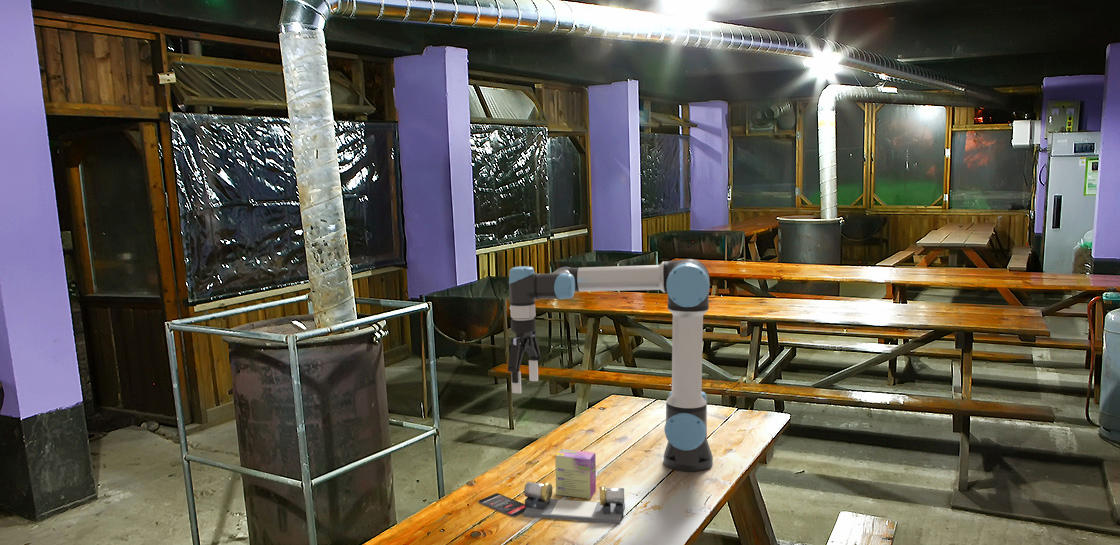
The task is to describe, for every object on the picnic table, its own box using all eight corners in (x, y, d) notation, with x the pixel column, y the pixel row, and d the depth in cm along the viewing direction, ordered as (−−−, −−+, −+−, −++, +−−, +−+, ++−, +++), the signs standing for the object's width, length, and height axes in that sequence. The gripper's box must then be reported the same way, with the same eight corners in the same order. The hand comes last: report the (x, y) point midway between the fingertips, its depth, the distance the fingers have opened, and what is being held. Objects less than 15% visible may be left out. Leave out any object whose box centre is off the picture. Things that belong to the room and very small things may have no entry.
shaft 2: (624, 509, 206) (623, 483, 205) (624, 517, 202) (624, 490, 201) (600, 509, 207) (599, 483, 206) (600, 517, 202) (599, 491, 201)
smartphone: (513, 516, 204) (477, 501, 214) (513, 519, 204) (477, 503, 214) (533, 507, 209) (496, 492, 219) (533, 509, 209) (496, 495, 219)
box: (596, 491, 219) (595, 451, 217) (590, 499, 214) (589, 459, 212) (562, 487, 222) (561, 448, 221) (555, 495, 217) (554, 455, 216)
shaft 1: (552, 506, 210) (552, 480, 209) (545, 513, 205) (545, 487, 204) (531, 503, 212) (530, 477, 211) (524, 510, 208) (523, 484, 207)
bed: (624, 507, 208) (624, 503, 208) (619, 523, 198) (619, 519, 198) (532, 500, 214) (532, 497, 214) (523, 516, 204) (523, 512, 204)
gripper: (527, 310, 242) (529, 375, 245) (494, 325, 219) (497, 397, 221) (549, 311, 239) (551, 376, 242) (518, 326, 216) (521, 399, 219)
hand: (525, 386), depth 232 cm, fingers open, 13 cm apart
